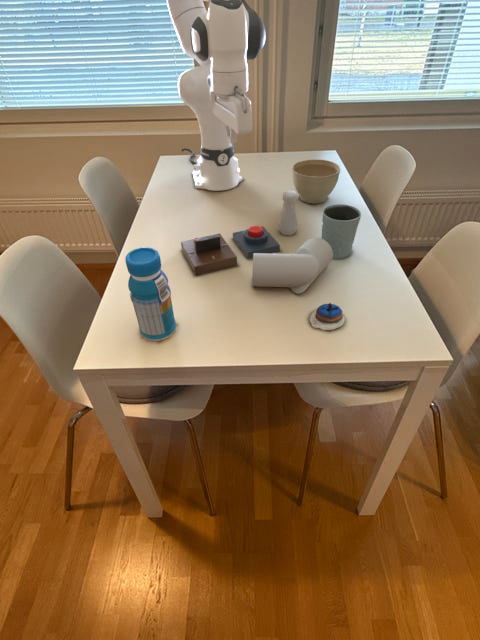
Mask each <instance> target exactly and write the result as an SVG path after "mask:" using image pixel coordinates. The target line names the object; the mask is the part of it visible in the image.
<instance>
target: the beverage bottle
mask: <svg viewBox="0 0 480 640" xmlns="http://www.w3.org/2000/svg"><path fill="white" fill-rule="evenodd" d="M124 259H125V265H126V269H127V272H128V274H129V275H130V276H129V278H128V284H127V287H128V290H129V297H130V301H131V303H132V306H133V309H134V313H135V317H136V320H137V324H138V328H139V332H140V335H141V336H142V337H143V338H144V339H146V340H148V341H153V342H159V341H163V340H166V339H168V338H169V337H171V336H172V335H173V334H174V333H175V331H176V328H177V323H176V319H175V314H174V307H173V304H172V303H173V301H172V297H171V294H172V291H171V287H170V285H169V279H168V276H167V275H166V273H165V272H164V271H163V270H162V260H161V255H160V253H159V251H158V250H157V249H156V248H153V247H148V246H143V247H137V248H135V249H132V250H130V251H129V252H128V253H127V254H126V255H125V258H124Z"/></svg>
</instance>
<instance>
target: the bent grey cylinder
mask: <svg viewBox="0 0 480 640" xmlns="http://www.w3.org/2000/svg"><path fill="white" fill-rule="evenodd" d="M333 259H334V258H333V251H332V248H331V246H330V245H329V243H328V242H326V241H325V240H323V239H321V237H316V236H315V237H311V238H309V239H308V240H306V241H305V242H304V243H303V244H302V245H301V246H300V247H299V248H297V250H296V251H295V252H294V253H254V254H253V258H252V287H265V288H289V289H290V290H291V291H292V293H295V294H302V293H303V292H305V291H306V290H307V289H308V287H310V286H311V284H312V283H313V282H314V281H315V280H316V279H317V278H318V276H319V275H320V274H321V273H322V272H323V271H324V270H325V269H326V268H327V266H329V264H330V263H331V262H332V260H333Z"/></svg>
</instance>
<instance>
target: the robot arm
mask: <svg viewBox="0 0 480 640" xmlns="http://www.w3.org/2000/svg"><path fill="white" fill-rule="evenodd" d="M165 1H166V3H167V8H168V12H169V13H168V14H169V15H170V19H171V22H172V25H173V28H174V30H175V33H176V36H177V38H178V40H179V43H180V46H181V49H182V51H183V53H184V54H185V55H187V56H189V57H190V58H192V59H194V60H195V61H196V63H198V66H194V67H191V68H189V69H187V70H185V71H184V72H182V73H180V75H179V77H178V80H177V91H178V94H179V97H180V99H181V100H182V102H183V103H184V104H185V105H186V106H187V107H189V109H191V110H192V111H193V113H194V115H195V116H196V119H197V122H198V125H199V133H200V141H201V142H200V143H201V145H200V156H199V157H198V158H197V160H196V161H194V160H193V158H194V157H195V152H194V151H193V150H192V149H190V148H188V147H183V148H182V149H181V152H184V151H187V152H189V153H190V154H191V155H190V156H189V161H190V163H192V164H193V171H192V178H193V182H194V187H195V188H196V189H203V190H208V191H213V192H215V191H216V192H220V191H227V190H231V189H233V188H235V187H237V186H238V184H239V183H240V182H242V181H243V176H242V175H241V174H240V171H241V169H240V168H239V159H238V158H237V157H236V156H235V145H236V144H238V135H248V134H250V133H252V131H253V113H252V112H253V111H252V102H251V99H250V98H249V97H248V96H246V93H247V92H248V91H249V66H248V62H247V61H253V60H255V59H256V58H257V57H258V56H259V55H260V53H261V52H262V50H263V48H264V46H265V43H266V37H267V36H266V33H267V32H266V28H265V27H266V26H265V24H264V21H263V19H262V18H261V16H260V15H259V14H258V13H257V11H256V10H254V9H253V8H252V7H250V5H249V4H248V2H247V1H246V0H165ZM204 2H206V3H208V9H206V6H205V3H204Z"/></svg>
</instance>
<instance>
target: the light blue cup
mask: <svg viewBox="0 0 480 640" xmlns="http://www.w3.org/2000/svg"><path fill="white" fill-rule="evenodd" d="M321 217H322V220H321V221H322V225H321V235H320V238H321V239H323V240H325V241H326V242H328V243H329V245H330V246H331V248H332V251H333V258H332V259H335V260H339V259H345V258H347V257H349V256H350V255H351V253H352V250H353V244H354V242H355V238H356V234H357V231H358V227H359V224H360V220H361V217H362V212H361V210H360V209H358V208H357V207H355V206H353V205H349V204H343V203H338V204H337V203H336V204H331V205H328V206H325V207H324V208H323V210H322V216H321Z"/></svg>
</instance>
